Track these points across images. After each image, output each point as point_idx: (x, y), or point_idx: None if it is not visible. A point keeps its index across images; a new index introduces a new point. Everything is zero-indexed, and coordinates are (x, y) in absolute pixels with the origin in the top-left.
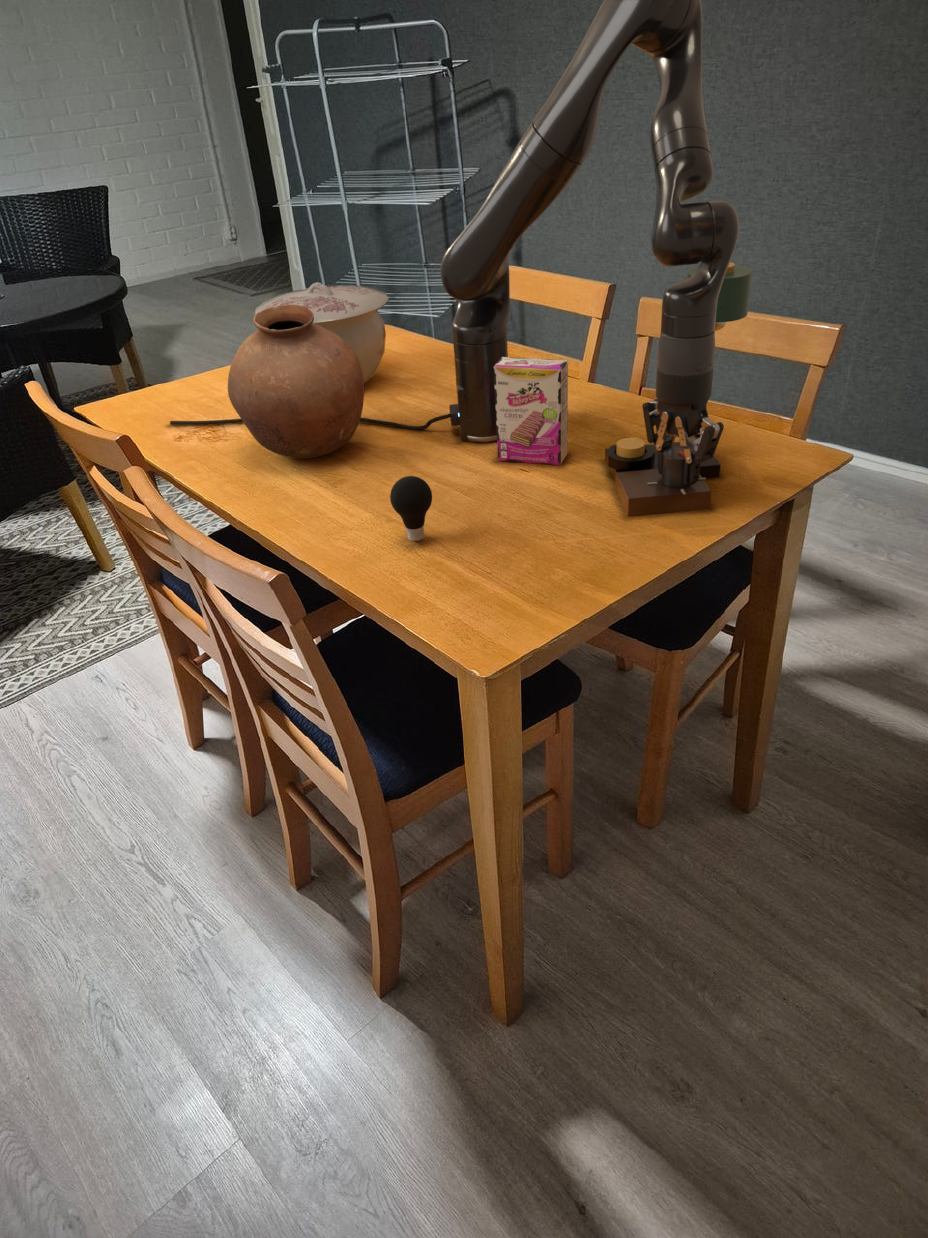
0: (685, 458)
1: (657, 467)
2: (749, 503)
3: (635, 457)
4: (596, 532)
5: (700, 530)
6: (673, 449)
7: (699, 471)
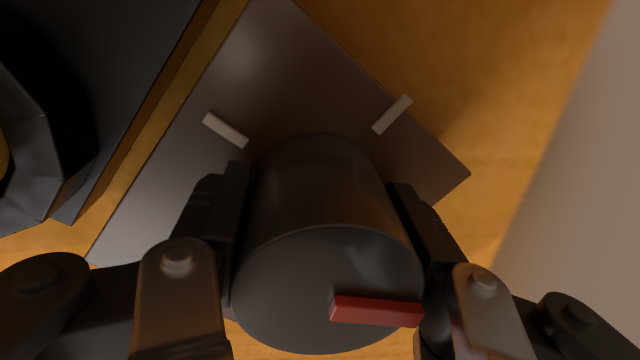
0: (416, 346)
1: (110, 76)
2: (558, 4)
3: (2, 165)
4: (272, 349)
5: (457, 238)
6: (267, 286)
7: (448, 234)
